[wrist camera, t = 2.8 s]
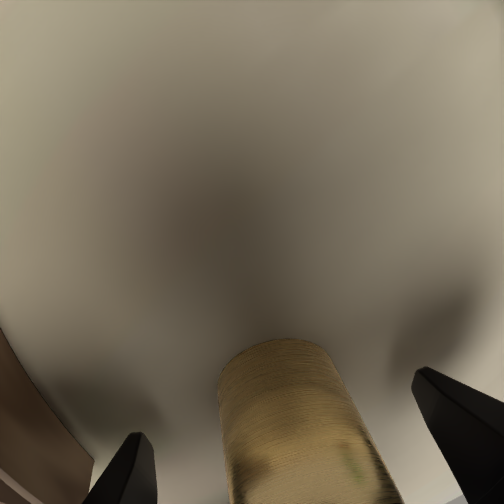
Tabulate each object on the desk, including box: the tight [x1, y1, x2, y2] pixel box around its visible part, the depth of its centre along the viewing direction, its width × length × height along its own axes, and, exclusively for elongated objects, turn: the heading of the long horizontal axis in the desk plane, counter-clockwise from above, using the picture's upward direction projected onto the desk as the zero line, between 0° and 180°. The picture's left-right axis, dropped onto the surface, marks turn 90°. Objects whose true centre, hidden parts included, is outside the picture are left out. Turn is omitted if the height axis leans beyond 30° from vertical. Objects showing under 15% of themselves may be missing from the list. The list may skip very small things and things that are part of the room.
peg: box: [217, 339, 405, 504], centre depth 7 cm, size 4×4×7 cm
